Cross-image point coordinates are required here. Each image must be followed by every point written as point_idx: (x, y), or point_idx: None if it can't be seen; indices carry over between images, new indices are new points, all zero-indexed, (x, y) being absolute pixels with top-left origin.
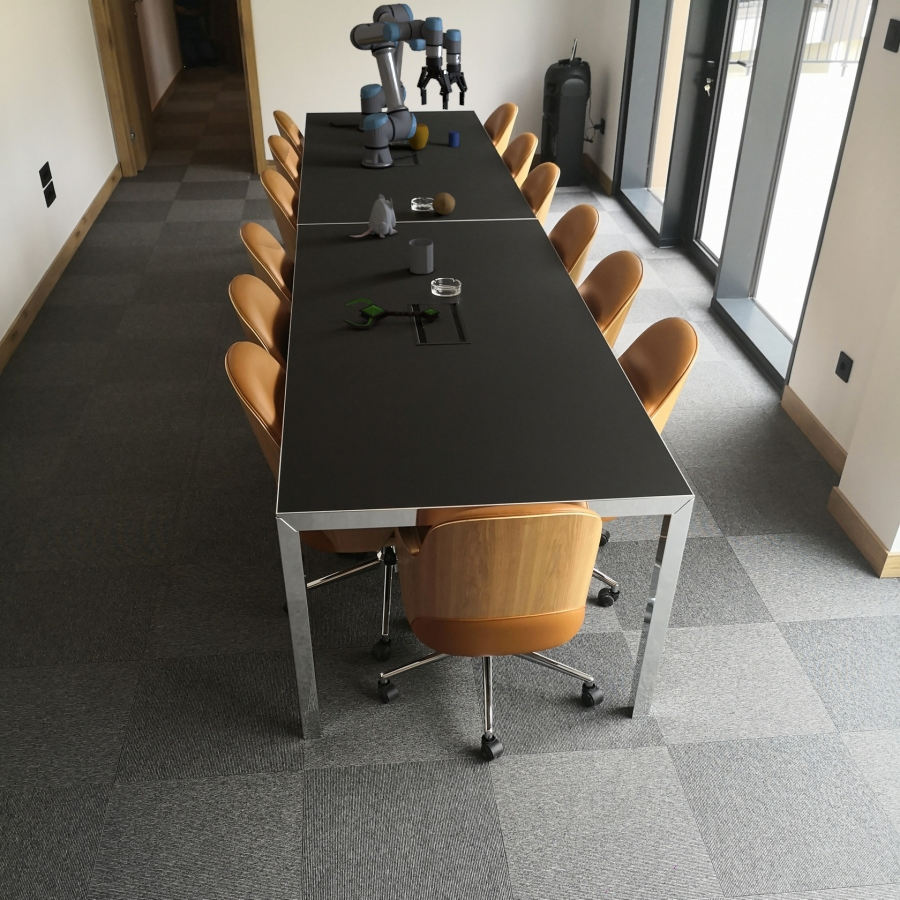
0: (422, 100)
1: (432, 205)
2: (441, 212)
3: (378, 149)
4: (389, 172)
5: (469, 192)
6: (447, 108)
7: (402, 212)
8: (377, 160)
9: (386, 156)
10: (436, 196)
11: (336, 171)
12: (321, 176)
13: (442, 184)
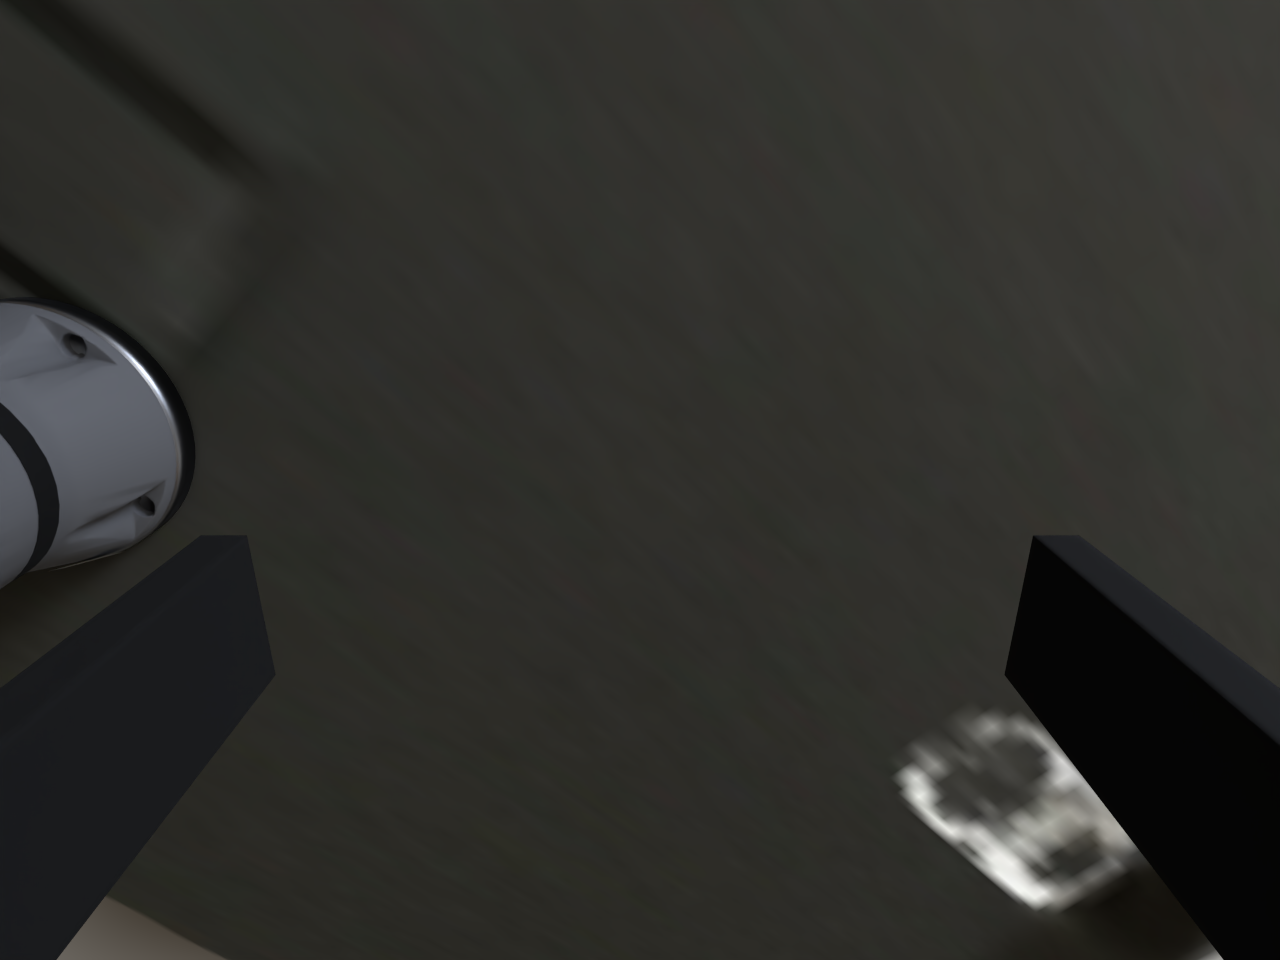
0: (211, 756)
1: None
2: None
3: (51, 542)
4: (316, 505)
5: (1142, 470)
6: (1079, 553)
7: (1012, 952)
8: (117, 514)
9: (116, 452)
10: None
11: None
12: None
13: (851, 458)
